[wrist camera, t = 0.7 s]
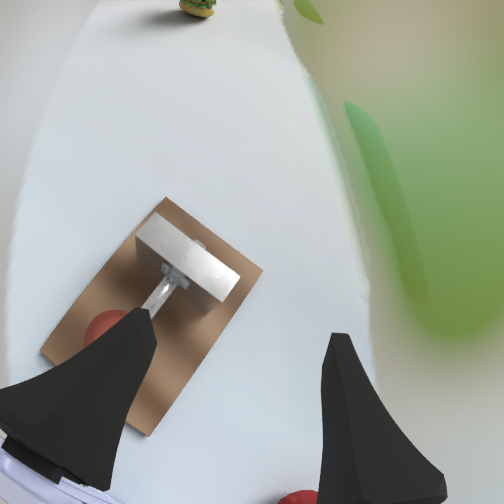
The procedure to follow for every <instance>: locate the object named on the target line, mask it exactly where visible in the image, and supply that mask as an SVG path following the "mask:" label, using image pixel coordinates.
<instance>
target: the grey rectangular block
mask: <svg viewBox="0 0 504 504" xmlns="http://www.w3.org/2000/svg"><path fill="white" fill-rule="evenodd" d="M135 244H136V255H137V260H138V261H139V262H140V263H142V264H143V265H144V266H145V267H147V268H148V269H149V270H150V271H152V272H153V273H154V274H155V275H157V276H158V277H159V278H161V279H162V280H163V278H164V277H165V276H166V274H167V273H168V272H169V271H170V269H173V270H174V271H175V272H177V273H178V274H179V275H181V276H182V277H183V279H182V280H181V282H180V283H179V284H178V286H177V287H176V288H175V290H176V291H177V292H179V293H180V294H181V295H183V296H184V297H185V298H187V299H188V300H189V301H191V302H192V303H193V304H195V305H196V306H197V307H199V308H200V309H201V310H203V311H204V312H205V313H207V314H208V313H209V312H211V311H212V310H213V309H215V308H216V307H217V306H219V305H220V304H221V303H223V301H224V300H225V298H226V297H227V296H228V294H229V293H230V291H231V290H232V288H233V287H234V286H235V284H236V283H237V281H238V280H239V278H240V276H239V275H238V274H236V273H235V272H234V271H232V270H231V269H230V268H228V267H227V266H226V265H224V264H223V263H222V262H220V261H219V260H218V259H216V258H215V257H214V256H212V255H211V254H210V253H208V252H207V251H206V250H205V249H203V248H202V247H201V246H199V245H198V244H197V243H195V242H194V241H193V240H191V239H190V238H189V237H188V236H186V235H185V234H184V233H182V232H181V231H180V230H178V229H177V228H176V227H175V226H173V225H172V224H171V223H169V222H168V221H167V220H165V219H164V218H163V217H162V216H160V215H159V214H158V213H157V212H155V213H154V214H153V215H152V216H151V217H150V218H149V219H148V220H147V222H146V223H145V224H144V225H143V226H142V227H141V228H140V229H139V230H138V232H137V233H136V234H135Z"/></svg>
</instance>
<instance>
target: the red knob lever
mask: <svg viewBox="0 0 504 504" xmlns="http://www.w3.org/2000/svg"><path fill="white" fill-rule="evenodd" d="M194 242H195V243H197V244H198V245H199V246H201V247H202V248H203V249H205V250H206V247H205V245H204V244H203V243H202V242H200V241H199V240H194ZM182 279H183V277H182V276H181V275H179V274H178V273H177V272H175V271H174V270H173V269H170V271H169V272H168V273H167V274H166V276H165V277H164V278H163V280H162V281H161V282H160V283H159V285H158V286H157V287H156V288H155V290H154V291H153V292H152V294H151V295H150V296H149V297H148V299H147V300H146V301H145V303H144V304H143V305H142V307H141V308H144V309H149V313H150V317H151V320H152V318H153V317H154V316H155V314H156V313H157V312H158V311H159V309H160V308H161V307H162V305H163V304H164V303H165V301H166V300H167V299H168V297H169V296H170V295H171V293H172V292H173V291H174V289H175V288H176V287H177V286H178V284H179V283H180V282H181V280H182ZM128 313H129V312H127V311H124V310H117V309H116V310H108V311H104V312H102V313H100V314H99V315H97V316H96V317H95V318H94V319H93V320H92V321H91V322H90V324H89V325H88V327H87V329H86V333H85V337H84V346H85V347H87V346H88V345H89V344H91V343H92V342H93V341H95V340H96V339H97V338H99V337H100V336H101V335H102V334H104V333H105V332H106V331H107V330H108V329H110V328H111V327H112V326H113V325H114V324H116V323H117V322H118V321H119V320H120V319H122V318H123V317H124V316H125V315H126V314H128Z"/></svg>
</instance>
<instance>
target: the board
mask: <svg viewBox="0 0 504 504" xmlns="http://www.w3.org/2000/svg"><path fill="white" fill-rule="evenodd" d="M155 212H157V213H158V214H159V215H160V216H162V217H163V218H164V219H165V220H167V221H168V222H169V223H171V224H172V225H173V226H175V227H176V228H177V229H178V230H180V231H181V232H182V233H184V234H185V235H186V236H188V237H189V238H190V239H191V240H193V241H194V240H199V241H200V242H202V243H203V244H204V245H205V247H206V251H207V252H208V253H210V254H211V255H212V256H214V257H215V258H216V259H218V260H219V261H220V262H222V263H223V264H224V265H226V266H227V267H228V268H230V269H231V270H232V271H234V272H235V273H236V274H238V275H239V276H240V278H239V280H238V281H237V283H236V284H235V286H234V287H233V288H232V290H231V291H230V293H229V294H228V296H227V297H226V298H225V300H224V301H223V303H221V304H220V305H219V306H217V307H216V308H215V309H213V310H212V311H211V312H209V313H208V314H207V313H205V312H204V311H203V310H201V309H200V308H199V307H197V306H196V305H195V304H193V303H192V302H191V301H189V300H188V299H187V298H185V297H184V296H183V295H181V294H180V293H179V292H177V291H176V290H175V289H174V291H173V292H172V293H171V295H170V296H169V297H168V299H167V300H166V301H165V303H164V304H163V305H162V307H161V308H160V309H159V311H158V312H157V313H156V314H155V316H154V317H153V318H152V320H151V321H152V325H153V329H154V333H155V337H156V340H157V346H156V349H155V353H154V356H153V359H152V362H151V364H150V367H149V369H148V371H147V373H146V375H145V377H144V379H143V381H142V384H141V386H140V388H139V390H138V392H137V394H136V396H135V398H134V400H133V402H132V405H131V407H130V409H129V412H128V414H127V417H126V422H127V423H129V424H130V425H132V426H133V427H134V428H136V429H137V430H139V431H140V432H142V433H144V434H145V435H147V436H148V437H149V436H150V435H151V434H152V432H153V431H154V429H155V428H156V427H157V425H158V424H159V422H160V421H161V419H162V418H163V417H164V415H165V414H166V412H167V411H168V410H169V408H170V407H171V405H172V404H173V402H174V401H175V400H176V398H177V397H178V395H179V394H180V392H181V391H182V390H183V388H184V387H185V385H186V384H187V382H188V381H189V380H190V378H191V377H192V375H193V374H194V372H195V371H196V369H197V368H198V367H199V365H200V364H201V362H202V361H203V359H204V358H205V356H206V355H207V354H208V352H209V351H210V349H211V348H212V346H213V345H214V343H215V342H216V340H217V339H218V337H219V336H220V335H221V333H222V332H223V330H224V329H225V327H226V326H227V324H228V323H229V321H230V320H231V318H232V317H233V315H234V314H235V312H236V311H237V309H238V308H239V306H240V305H241V304H242V302H243V301H244V299H245V298H246V296H247V295H248V293H249V292H250V290H251V289H252V287H253V286H254V284H255V283H256V281H257V280H258V278H259V277H260V275H261V274H262V272H263V270H262V269H261V268H259V267H258V266H257V265H255V264H254V263H253V262H251V261H250V260H249V259H247V258H246V257H245V256H243V255H242V254H241V253H239V252H238V251H237V250H235V249H234V248H233V247H231V246H230V245H229V244H227V243H226V242H225V241H223V240H222V239H221V238H219V237H218V236H217V235H216V234H214V233H213V232H212V231H210V230H209V229H208V228H206V227H205V226H204V225H202V224H201V223H200V222H198V221H197V220H196V219H194V218H193V217H192V216H191V215H189V214H188V213H187V212H185V211H184V210H183V209H181V208H180V207H179V206H177V205H176V204H175V203H173V202H172V201H171V200H170V199H168V198H167V197H165V198H164V199H163V200H162V201H161V202H160V203H159V205H158V206H157V207H156V208H155V209H154V210H153V211H152V212H151V213H150V214H149V215H148V216H147V217H146V218H145V220H144V221H143V222H142V223H141V224H140V225H139V226H138V227H137V228H136V229H135V231H134V232H133V233H132V234H131V235H130V236H129V237H128V238H127V240H126V241H125V242H124V243H123V244H122V245H121V246H120V248H119V249H118V250H117V251H116V252H115V253H114V255H113V256H112V257H111V258H110V259H109V260H108V262H107V263H106V264H105V265H104V266H103V268H102V269H101V270H100V271H99V273H98V274H97V275H96V276H95V277H94V279H93V280H92V281H91V282H90V284H89V285H88V286H87V287H86V289H85V290H84V291H83V292H82V294H81V295H80V296H79V298H78V299H77V300H76V301H75V303H74V304H73V305H72V307H71V308H70V309H69V311H68V312H67V313H66V315H65V316H64V317H63V319H62V320H61V321H60V323H59V324H58V325H57V327H56V328H55V330H54V331H53V332H52V334H51V335H50V336H49V338H48V339H47V341H46V342H45V344H44V345H43V346H42V348H41V349H40V351H41V352H42V353H43V354H44V355H45V356H46V357H47V358H49V359H50V360H51V361H52V362H53V363H54V364H55V365H56V366H58V365H60V364H61V363H63V362H65V361H66V360H68V359H69V358H71V357H73V356H74V355H76V354H77V353H79V352H80V351H81V350H83V349H84V348H85V346H84V337H85V333H86V329H87V327H88V325H89V324H90V322H91V321H92V320H93V319H94V318H95V317H96V316H97V315H99V314H100V313H102V312H104V311H108V310H116V309H117V310H124V311H127V312H130V311H131V310H133V309H134V308H135V307H138V308H141V307H142V305H143V304H144V303H145V301H146V300H147V299H148V297H149V296H150V295H151V294H152V292H153V291H154V290H155V288H156V287H157V286H158V285H159V283H160V282H161V281H162V279H161V278H159V277H158V276H157V275H155V274H154V273H153V272H152V271H150V270H149V269H148V268H147V267H145V266H144V265H143V264H142V263H140V262H139V261H138V260H137V255H136V244H135V234H136V233H137V232H138V230H139V229H140V228H141V227H142V226H143V225H144V224H145V223H146V222H147V220H148V219H149V218H150V217H151V216H152V215H153V214H154V213H155Z"/></svg>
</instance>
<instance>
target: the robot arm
mask: <svg viewBox="0 0 504 504" xmlns="http://www.w3.org/2000/svg"><path fill="white" fill-rule="evenodd" d="M156 346H157V340H156V337H155V333H154V329H153V325H152V321H151V317H150V313H149V309H144V308H138V307H135V308H134V309H133V310H131V311H130V312H129V313H128V314H126V315H125V316H124V317H123V318H122V319H120V320H119V321H118V322H117V323H116V324H114V325H113V326H112V327H111V328H110V329H108V330H107V331H106V332H105V333H104V334H102V335H101V336H100V337H99V338H97V339H96V340H95V341H93V342H92V343H91V344H89V345H88V346H87V347H85V348H84V349H83V350H81V351H80V352H79V353H77V354H76V355H74V356H73V357H71V358H69V359H68V360H66V361H65V362H63V363H61V364H60V365H58V366H56V367H54V368H52V369H50V370H48V371H46V372H44V373H43V374H41V375H38V376H36V377H34V378H32V379H29V380H27V381H24V382H21V383H19V384H16V385H13V386H9V387H6V388H3V389H0V428H1V430H3V431H4V432H5V433H6V434H7V437H6V439H4V438H3V437H2V436H0V497H1V498H2V499H3V500H4V501H5V502H6V503H7V504H123V503H120V502H118V501H117V500H115V499H113V498H112V497H110V496H108V495H107V494H105V493H103V492H104V491H107V490H109V489H110V485H111V478H112V472H113V466H114V461H115V457H116V452H117V448H118V444H119V441H120V437H121V433H122V430H123V427H124V424H125V421H126V417H127V414H128V412H129V409H130V407H131V405H132V402H133V400H134V398H135V396H136V394H137V392H138V390H139V388H140V386H141V384H142V381H143V379H144V377H145V375H146V373H147V371H148V369H149V367H150V364H151V362H152V359H153V356H154V353H155V349H156ZM321 402H322V423H323V452H322V463H321V473H320V482H319V489H318V496H317V503H316V504H441V503H442V502H444V501H445V500H446V498H447V487H446V482H445V478H444V474H442V473H441V472H440V471H439V470H438V469H437V468H436V467H435V466H433V465H432V464H431V463H430V462H429V461H428V460H427V459H426V458H425V457H424V456H423V455H422V454H421V453H420V452H419V451H418V450H417V449H416V448H415V446H414V445H413V444H412V443H411V441H410V440H409V439H408V438H407V437H406V436H405V435H404V433H403V432H402V431H401V429H400V428H399V427H398V425H397V424H396V423H395V421H394V420H393V419H392V417H391V416H390V414H389V413H388V411H387V410H386V408H385V407H384V405H383V403H382V402H381V400H380V398H379V397H378V395H377V393H376V391H375V390H374V388H373V386H372V384H371V382H370V380H369V378H368V376H367V374H366V372H365V370H364V368H363V366H362V364H361V362H360V360H359V358H358V355H357V353H356V351H355V349H354V346H353V344H352V341H351V339H350V336H349V335H348V334H345V333H332V334H331V338H330V341H329V345H328V348H327V351H326V355H325V358H324V362H323V365H322V377H321ZM80 484H83V485H85V487H83V486H81V485H80Z"/></svg>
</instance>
